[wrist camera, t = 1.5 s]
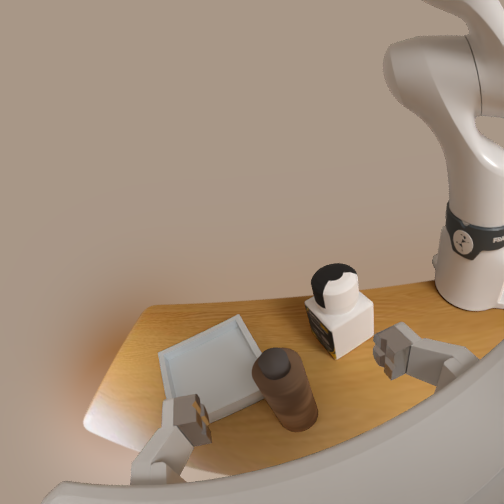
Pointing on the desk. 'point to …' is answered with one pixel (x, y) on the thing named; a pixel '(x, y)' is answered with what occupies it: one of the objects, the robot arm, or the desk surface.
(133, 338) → the desk surface
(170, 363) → the pale dish
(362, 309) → the medicine bottle
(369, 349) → the desk surface
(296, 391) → the walnut pepper mill
